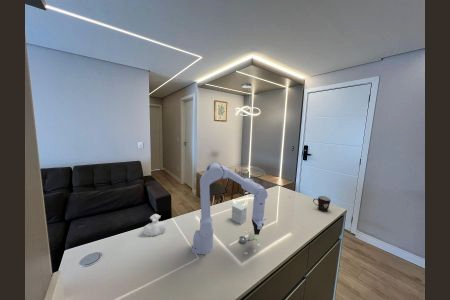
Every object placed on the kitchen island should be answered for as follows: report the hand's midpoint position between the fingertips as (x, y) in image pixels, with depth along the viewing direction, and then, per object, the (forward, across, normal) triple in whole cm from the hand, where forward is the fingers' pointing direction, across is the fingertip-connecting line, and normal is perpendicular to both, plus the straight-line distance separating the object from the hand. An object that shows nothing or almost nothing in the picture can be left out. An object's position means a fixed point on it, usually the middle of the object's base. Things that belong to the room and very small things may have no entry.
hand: (256, 233), depth 86 cm
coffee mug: (+7, +48, -57) cm, 75 cm away
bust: (+8, +5, +56) cm, 57 cm away
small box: (+8, +22, +8) cm, 25 cm away
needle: (+6, +4, +4) cm, 8 cm away
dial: (+7, +2, +7) cm, 10 cm away
